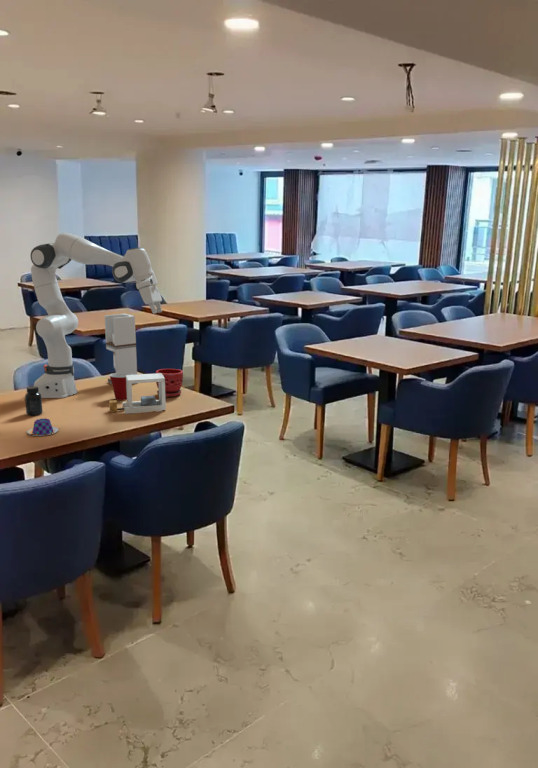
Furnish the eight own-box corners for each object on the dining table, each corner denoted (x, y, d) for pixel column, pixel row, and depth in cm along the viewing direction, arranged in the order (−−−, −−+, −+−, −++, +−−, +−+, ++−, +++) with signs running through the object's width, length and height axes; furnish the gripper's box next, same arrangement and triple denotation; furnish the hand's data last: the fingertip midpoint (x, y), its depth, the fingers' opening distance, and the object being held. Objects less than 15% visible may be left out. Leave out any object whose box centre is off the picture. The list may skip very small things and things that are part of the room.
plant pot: (181, 398, 329) (181, 373, 326) (154, 398, 329) (153, 373, 326) (184, 391, 342) (184, 367, 339) (158, 391, 342) (157, 367, 339)
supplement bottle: (46, 412, 304) (44, 386, 301) (36, 416, 298) (34, 390, 295) (33, 411, 307) (30, 384, 304) (22, 415, 300) (20, 388, 297)
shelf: (124, 413, 304) (123, 380, 300) (122, 407, 313) (121, 375, 309) (165, 410, 309) (164, 378, 305) (162, 404, 318) (161, 373, 314)
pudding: (21, 433, 277) (20, 421, 276) (45, 426, 287) (44, 414, 285) (40, 439, 270) (39, 426, 269) (65, 431, 280) (64, 419, 279)
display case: (127, 379, 364) (125, 313, 356) (137, 383, 356) (134, 316, 348) (107, 382, 357) (104, 315, 349) (117, 386, 349) (113, 318, 341)
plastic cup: (136, 395, 333) (135, 371, 330) (129, 401, 322) (128, 376, 319) (114, 395, 334) (113, 370, 331) (107, 401, 323) (105, 376, 320)
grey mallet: (110, 413, 304) (110, 402, 303) (109, 409, 309) (109, 398, 308) (156, 409, 309) (155, 399, 308) (154, 406, 315) (154, 395, 314)
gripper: (146, 285, 315) (156, 313, 317) (134, 285, 295) (145, 316, 297) (159, 280, 314) (169, 309, 316) (148, 280, 294) (159, 311, 296)
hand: (157, 312), depth 306 cm, fingers open, 8 cm apart
